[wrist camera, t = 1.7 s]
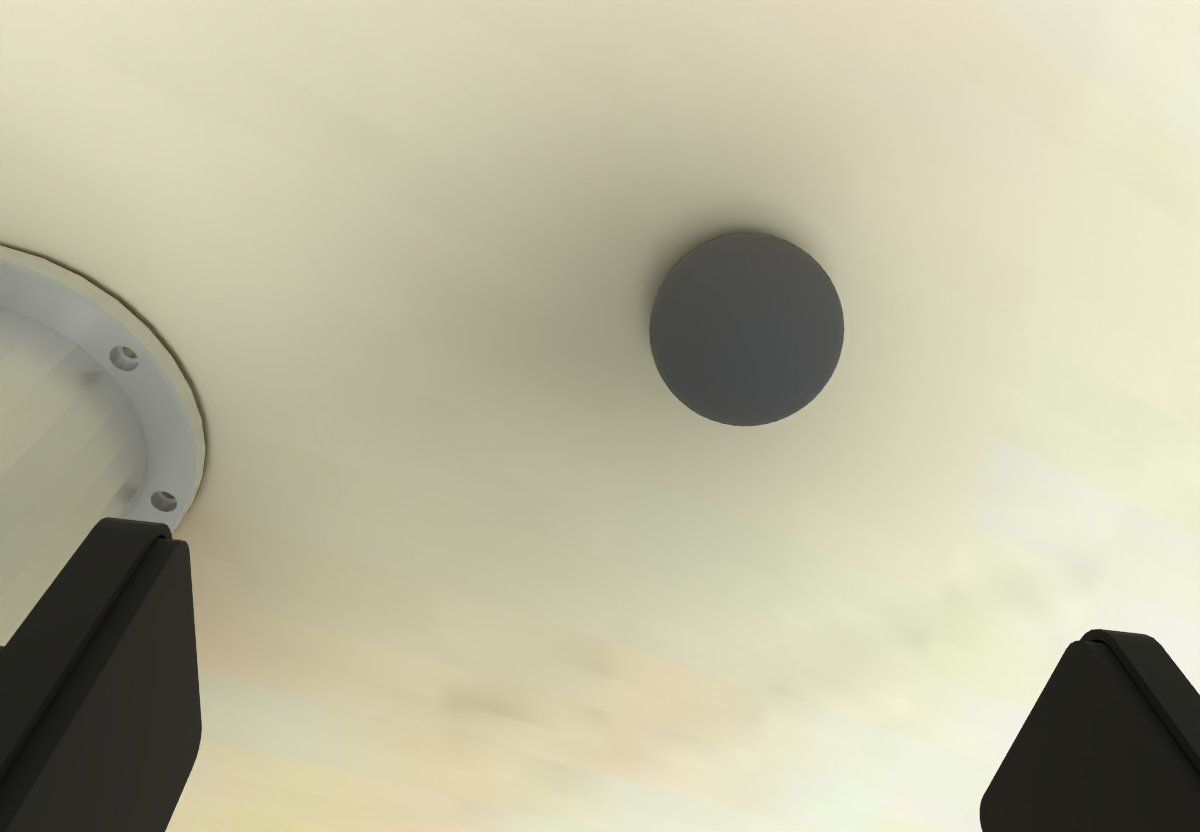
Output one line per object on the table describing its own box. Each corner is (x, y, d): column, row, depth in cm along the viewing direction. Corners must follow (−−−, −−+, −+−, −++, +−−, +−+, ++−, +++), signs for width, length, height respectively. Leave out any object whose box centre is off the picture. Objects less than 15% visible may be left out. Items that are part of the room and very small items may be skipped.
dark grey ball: (692, 397, 31) (712, 492, 26) (612, 262, 29) (618, 339, 24) (846, 323, 30) (896, 409, 25) (776, 174, 27) (818, 237, 23)
